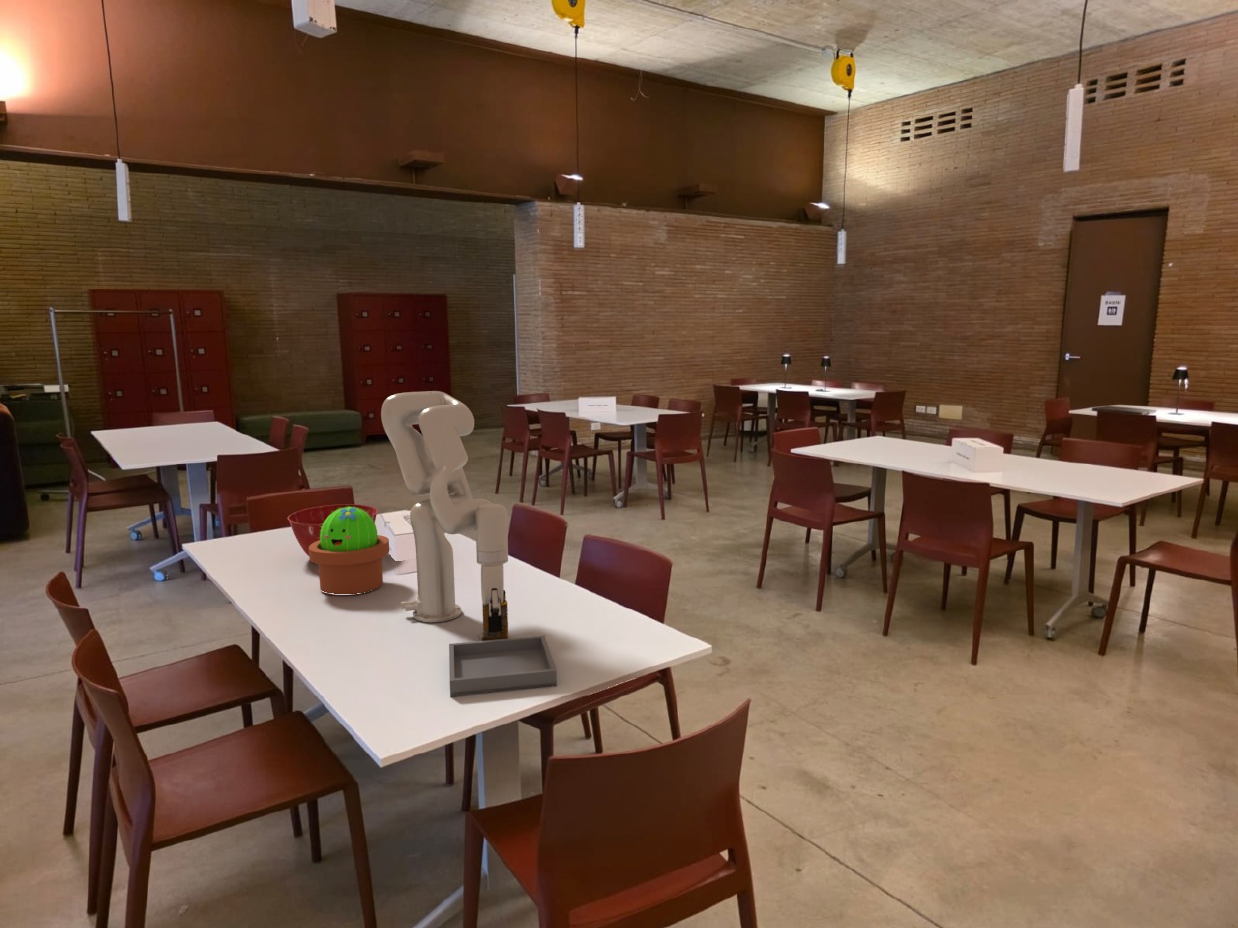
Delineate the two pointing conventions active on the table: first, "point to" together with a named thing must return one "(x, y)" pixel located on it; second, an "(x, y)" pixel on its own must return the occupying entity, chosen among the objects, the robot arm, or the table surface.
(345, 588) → the potted cactus
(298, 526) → the mixing bowl
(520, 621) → the table surface
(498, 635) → the condiment
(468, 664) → the tray
